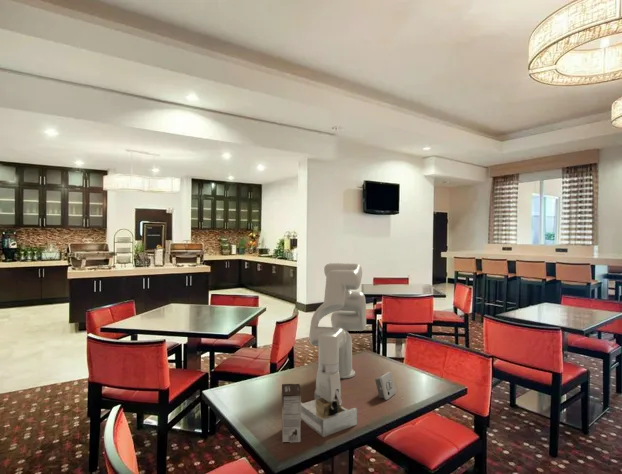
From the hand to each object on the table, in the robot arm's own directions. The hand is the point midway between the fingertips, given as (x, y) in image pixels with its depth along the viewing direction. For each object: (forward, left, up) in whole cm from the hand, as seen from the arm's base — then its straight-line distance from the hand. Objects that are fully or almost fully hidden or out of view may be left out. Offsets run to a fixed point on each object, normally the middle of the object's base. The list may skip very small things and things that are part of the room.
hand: (328, 415), depth 134 cm
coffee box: (0, -16, -3) cm, 16 cm away
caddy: (-5, 0, -3) cm, 5 cm away
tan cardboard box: (0, 0, -1) cm, 1 cm away
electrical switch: (-5, +34, -3) cm, 34 cm away
